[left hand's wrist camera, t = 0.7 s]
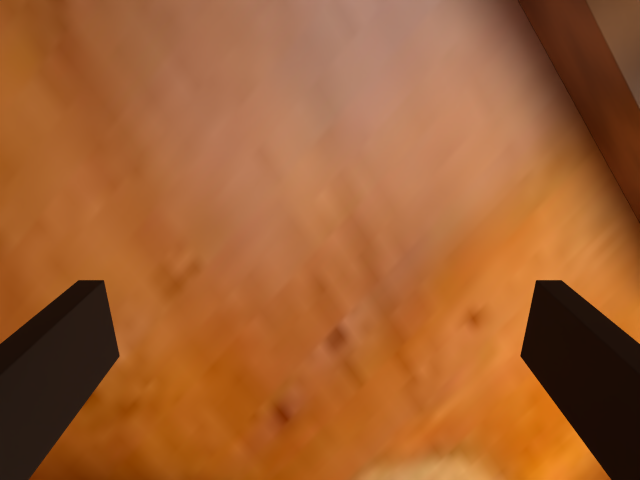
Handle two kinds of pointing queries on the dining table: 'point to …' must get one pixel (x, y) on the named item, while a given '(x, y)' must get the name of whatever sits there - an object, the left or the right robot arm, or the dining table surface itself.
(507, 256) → the dining table surface
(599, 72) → the beam
